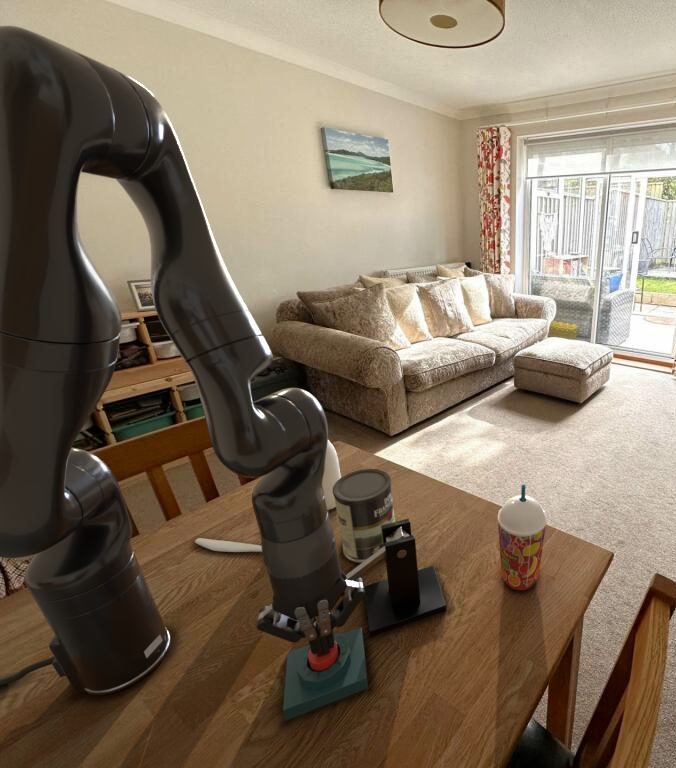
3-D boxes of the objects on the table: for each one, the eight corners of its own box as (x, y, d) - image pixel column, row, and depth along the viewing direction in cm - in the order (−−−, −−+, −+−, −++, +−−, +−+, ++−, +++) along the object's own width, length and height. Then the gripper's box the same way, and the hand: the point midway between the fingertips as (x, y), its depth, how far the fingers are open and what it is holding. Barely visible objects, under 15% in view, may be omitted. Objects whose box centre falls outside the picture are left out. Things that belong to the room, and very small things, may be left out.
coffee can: (406, 529, 84) (400, 471, 79) (381, 567, 74) (373, 505, 69) (360, 521, 86) (352, 464, 80) (331, 557, 76) (319, 496, 71)
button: (309, 676, 53) (307, 668, 52) (310, 652, 56) (308, 643, 56) (339, 666, 54) (337, 657, 54) (338, 642, 58) (336, 633, 57)
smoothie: (489, 569, 75) (489, 478, 67) (528, 554, 78) (532, 466, 71) (509, 604, 68) (512, 508, 60) (551, 586, 71) (559, 493, 64)
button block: (285, 721, 51) (279, 701, 50) (290, 662, 58) (284, 643, 57) (368, 688, 55) (364, 669, 54) (363, 637, 62) (360, 618, 60)
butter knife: (318, 562, 74) (327, 549, 77) (188, 546, 77) (200, 535, 80) (319, 564, 74) (328, 551, 77) (189, 548, 78) (201, 537, 80)
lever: (336, 606, 61) (322, 596, 59) (336, 590, 64) (322, 580, 62) (413, 547, 63) (402, 536, 61) (410, 533, 65) (398, 523, 64)
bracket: (370, 637, 62) (359, 564, 56) (365, 591, 69) (354, 523, 64) (446, 611, 66) (443, 540, 61) (433, 570, 74) (429, 504, 69)
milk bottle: (351, 498, 93) (339, 420, 85) (320, 517, 86) (305, 435, 79) (330, 487, 96) (317, 411, 89) (299, 504, 90) (283, 425, 83)
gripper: (357, 517, 54) (371, 609, 61) (242, 545, 49) (271, 643, 55) (362, 556, 48) (378, 655, 54) (231, 594, 43) (265, 698, 49)
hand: (324, 649), depth 55 cm, fingers closed
